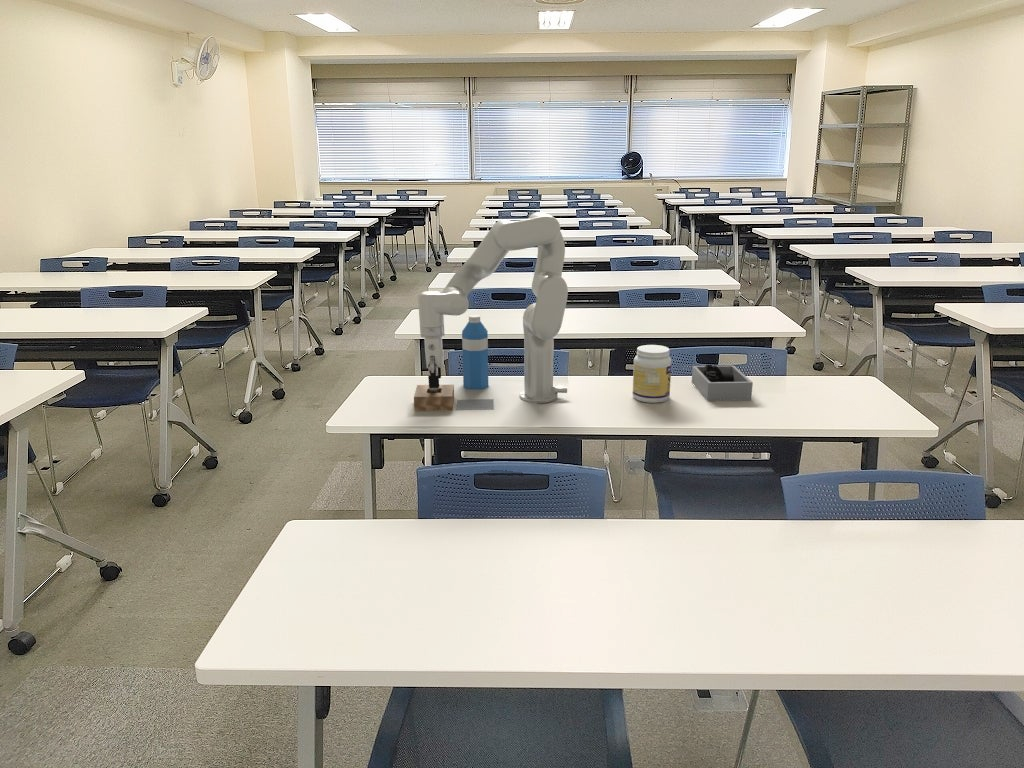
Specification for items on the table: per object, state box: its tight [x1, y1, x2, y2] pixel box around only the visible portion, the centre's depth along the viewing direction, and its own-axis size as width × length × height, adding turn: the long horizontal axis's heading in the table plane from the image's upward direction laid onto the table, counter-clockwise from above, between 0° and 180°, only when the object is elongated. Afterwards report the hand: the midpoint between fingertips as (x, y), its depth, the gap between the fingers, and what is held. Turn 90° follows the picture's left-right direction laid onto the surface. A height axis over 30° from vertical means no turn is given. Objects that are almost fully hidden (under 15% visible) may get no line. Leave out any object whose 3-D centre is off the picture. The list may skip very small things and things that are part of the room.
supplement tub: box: [632, 344, 673, 404], centre depth 242 cm, size 12×12×17 cm
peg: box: [429, 388, 439, 393], centre depth 237 cm, size 3×3×11 cm
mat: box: [455, 398, 495, 411], centre depth 239 cm, size 12×10×1 cm
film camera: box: [703, 364, 734, 382], centre depth 250 cm, size 15×10×9 cm, turn 173°
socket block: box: [413, 384, 455, 412], centre depth 238 cm, size 12×12×5 cm
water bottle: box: [461, 314, 489, 390], centre depth 254 cm, size 9×9×25 cm
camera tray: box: [691, 365, 754, 402], centre depth 250 cm, size 14×20×6 cm
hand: (435, 382), depth 237 cm, fingers open, 9 cm apart
